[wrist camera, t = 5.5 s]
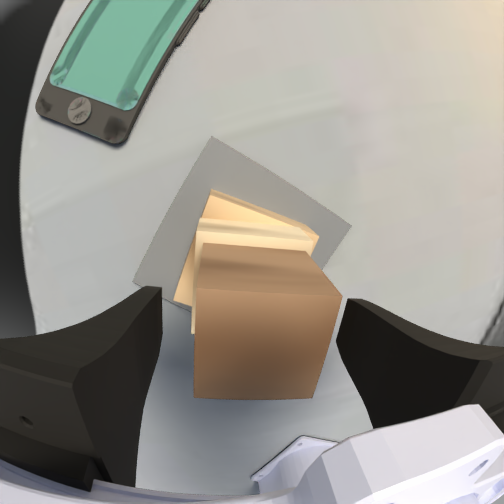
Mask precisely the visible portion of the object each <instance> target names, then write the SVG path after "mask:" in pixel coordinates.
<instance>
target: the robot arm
mask: <svg viewBox="0 0 504 504" xmlns="http://www.w3.org/2000/svg"><path fill="white" fill-rule="evenodd" d="M162 334H163V330H162V287H156V286H144V287H143V288H141V289H139V290H138V291H136V292H135V293H133V294H132V295H130V296H129V297H127V298H126V299H124V300H123V301H121V302H120V303H118V304H116V305H115V306H113V307H111V308H109V309H108V310H106V311H104V312H102V313H101V314H99V315H97V316H95V317H93V318H90V319H88V320H86V321H83V322H81V323H78V324H76V325H73V326H69V327H66V328H63V329H60V330H57V331H53V332H49V333H44V334H39V335H34V336H27V337H18V338H6V339H0V504H491V503H492V502H494V501H495V500H497V499H498V498H499V497H500V496H502V495H503V494H504V347H497V346H486V345H480V344H474V343H469V342H464V341H461V340H457V339H453V338H449V337H446V336H443V335H440V334H438V333H435V332H432V331H429V330H427V329H425V328H422V327H420V326H418V325H416V324H413V323H411V322H409V321H407V320H405V319H403V318H401V317H399V316H397V315H395V314H393V313H391V312H389V311H387V310H385V309H383V308H381V307H379V306H377V305H375V304H373V303H371V302H369V301H366V300H363V299H349V298H348V299H347V303H346V307H345V310H344V314H343V318H342V321H341V325H340V328H339V332H338V335H337V338H336V343H337V347H338V350H339V353H340V356H341V359H342V361H343V363H344V365H345V367H346V369H347V371H348V373H349V375H350V377H351V379H352V381H353V382H354V384H355V386H356V388H357V390H358V392H359V394H360V396H361V398H362V400H363V402H364V404H365V406H366V409H367V412H368V415H369V417H370V420H371V423H372V426H373V430H370V431H367V432H364V433H361V434H357V435H354V436H351V437H348V438H346V439H345V440H343V441H341V442H339V443H337V442H332V441H326V440H321V439H316V438H311V437H306V436H301V437H299V438H298V439H297V440H296V441H295V442H293V443H292V444H291V445H290V446H289V447H288V448H287V449H285V450H284V451H283V452H282V453H281V454H279V455H278V456H277V457H276V458H275V459H273V460H272V461H271V462H270V463H268V464H267V465H266V466H265V467H263V468H262V469H261V470H260V471H258V472H257V473H256V474H254V475H253V476H252V477H251V479H252V480H253V481H257V482H258V483H259V490H260V494H257V495H236V496H224V495H196V494H182V493H171V492H162V491H154V490H147V489H140V488H135V484H136V467H137V455H138V445H139V436H140V428H141V421H142V415H143V408H144V404H145V400H146V396H147V393H148V389H149V386H150V383H151V380H152V376H153V373H154V370H155V367H156V363H157V360H158V357H159V352H160V346H161V340H162Z"/></svg>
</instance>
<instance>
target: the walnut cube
mask: <svg viewBox="0 0 504 504" xmlns="http://www.w3.org/2000/svg"><path fill="white" fill-rule="evenodd" d="M341 300H342V295H341V294H340V292H339V291H338V290H337V289H336V287H335V286H334V285H333V284H332V282H331V281H330V280H329V279H328V278H327V276H326V275H325V274H324V273H323V271H322V270H321V269H320V268H319V267H318V265H317V264H316V263H315V262H314V261H313V259H312V258H311V257H310V256H309V255H308V253H307V252H306V251H300V250H288V249H276V248H264V247H252V246H240V245H227V244H215V243H203V248H202V254H201V261H200V268H199V275H198V282H197V291H196V313H195V341H194V398H208V399H232V400H282V399H306V398H312V397H313V394H314V391H315V388H316V385H317V382H318V379H319V376H320V373H321V370H322V367H323V364H324V360H325V357H326V354H327V351H328V347H329V344H330V340H331V337H332V334H333V330H334V326H335V323H336V319H337V315H338V312H339V308H340V304H341Z"/></svg>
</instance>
